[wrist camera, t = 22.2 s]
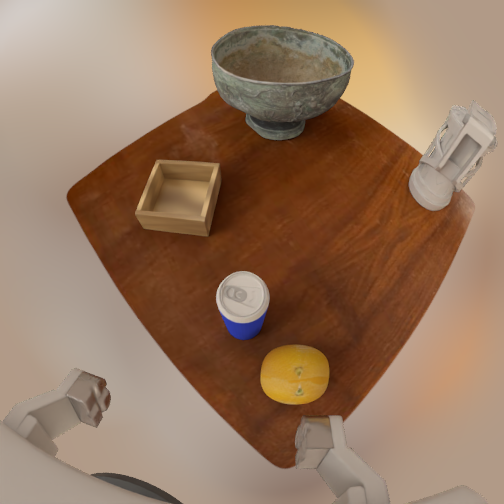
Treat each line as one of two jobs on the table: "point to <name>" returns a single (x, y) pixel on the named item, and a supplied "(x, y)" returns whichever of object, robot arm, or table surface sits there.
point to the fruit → (294, 374)
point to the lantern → (453, 156)
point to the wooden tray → (180, 197)
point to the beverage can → (243, 304)
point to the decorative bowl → (279, 76)
